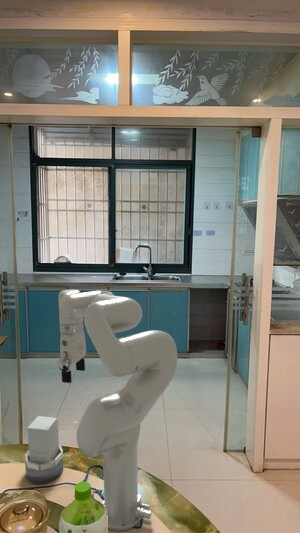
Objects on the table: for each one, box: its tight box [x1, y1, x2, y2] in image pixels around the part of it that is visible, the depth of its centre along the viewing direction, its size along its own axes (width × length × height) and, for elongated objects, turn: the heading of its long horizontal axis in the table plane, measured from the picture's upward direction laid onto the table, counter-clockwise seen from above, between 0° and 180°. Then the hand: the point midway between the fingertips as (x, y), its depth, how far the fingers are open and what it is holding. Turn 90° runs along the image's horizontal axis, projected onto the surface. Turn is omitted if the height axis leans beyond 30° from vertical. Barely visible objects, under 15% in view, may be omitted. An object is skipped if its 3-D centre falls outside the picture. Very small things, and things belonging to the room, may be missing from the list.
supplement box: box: [26, 415, 60, 464], centre depth 120 cm, size 7×7×13 cm
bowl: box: [24, 444, 64, 486], centre depth 121 cm, size 12×12×7 cm
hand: (73, 376), depth 123 cm, fingers open, 9 cm apart
